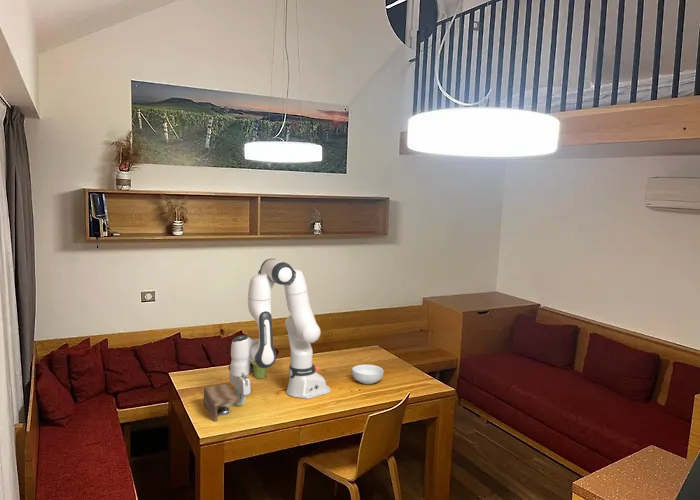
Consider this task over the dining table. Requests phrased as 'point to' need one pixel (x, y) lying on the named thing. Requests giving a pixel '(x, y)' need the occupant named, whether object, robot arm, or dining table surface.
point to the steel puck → (223, 411)
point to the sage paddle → (237, 402)
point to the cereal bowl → (367, 373)
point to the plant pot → (259, 371)
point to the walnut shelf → (218, 398)
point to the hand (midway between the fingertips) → (239, 397)
